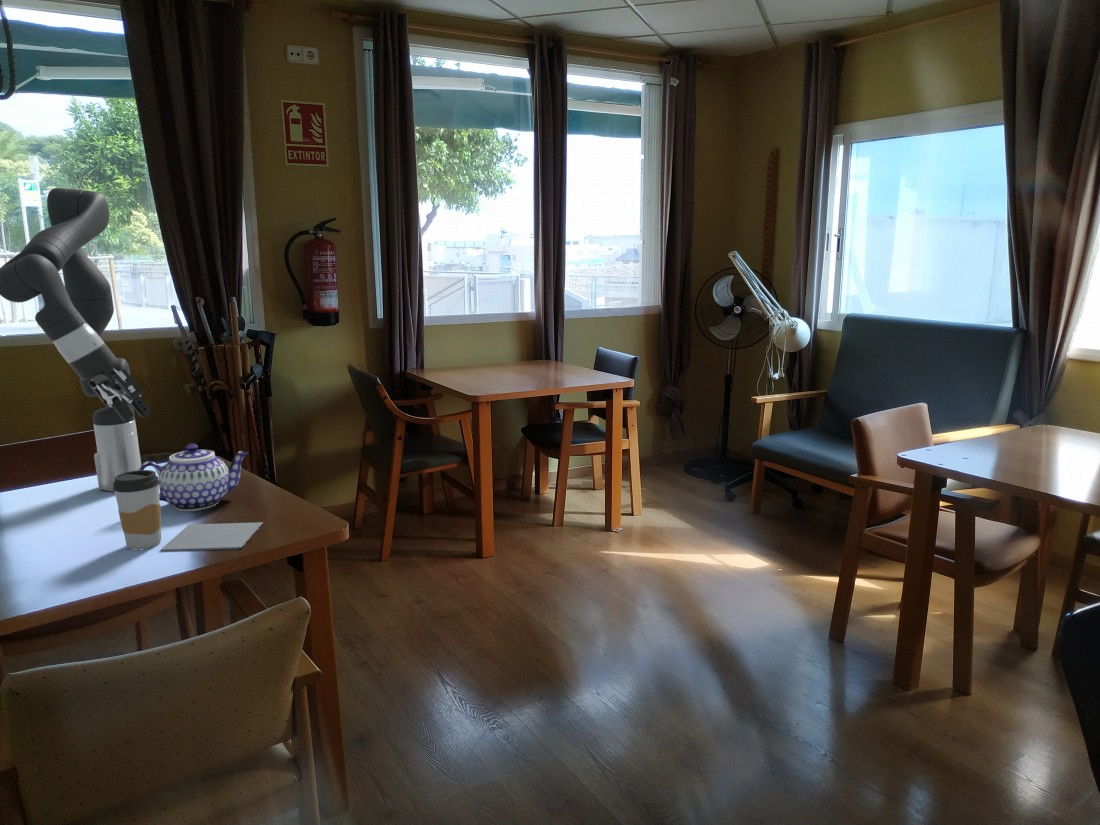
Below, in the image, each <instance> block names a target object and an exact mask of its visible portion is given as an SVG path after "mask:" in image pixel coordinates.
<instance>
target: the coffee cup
mask: <svg viewBox="0 0 1100 825" xmlns="http://www.w3.org/2000/svg"><path fill="white" fill-rule="evenodd" d="M159 483H160V482H159V475H157V472H156V470H155V471H154V470H150V469H144V470H137V471H130V472H126V473H122V474H119V475H117V476H116V477H115V482H114V483H113V490H114V491H113V492H114V494H115V499H116V503H117V507H118V515H119V520H120V524H121V528H122V532H123V535H124V540H125V544H126V547H128V549H129V548H130V549H129V550H131V549H138V550H137V551H141V550H140V549H144V550H147V549H146V548H149V549H151V547H152V548H155V547H157V546H159V545H160V544H161V541H162V518H161V517H162V516H161V502H160V500H159V493H160V488H159ZM154 546H155V547H154Z"/></svg>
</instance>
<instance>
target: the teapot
mask: <svg viewBox="0 0 1100 825" xmlns="http://www.w3.org/2000/svg"><path fill="white" fill-rule="evenodd" d="M198 448H199V446H198V445H197V444H195V443H188V444H187V445H185V450H182V451H179V452H176V453H173V454H171V455H169V457H168V458H169V460H168V461H167V462H166V463H165V464H164V465H163V466H161V465H159V464H157V463H156V462H154V461H150V460H148V461H145V462H143V464H141V467H140V468H139V469H138V470H146V468H147V467H153V468H154V469H155V473H156V475H157V476H158V478H159V479H158V480H159V482H160V483H159V501H162V502H166V503H168V504H169V505H171V506H173V507H174V509H175V510H176V511H181V512H195V511H196V512H197V511H201V510H202V509H203V510H206V508H207V509H210V507H211V508H213V507H215V506H217V505H218V504H219V502H220V501H221V500H222V499H223V498H224V497H225V496H226V495H227V494H228V493H229V492H232V491H233V490H234V489H236V488H237V486H238V485H239V483H240V479H241V471H242V462H243V459H244V458H245V457H246V456H247V455H249V452H248V451H245V450H240V451H238V452H237V453H236V454H235V455H234V458H233V459H232V462H231V464H229V465H226V463H225V462H224V460H222V459H220V458H218V457H217V456H216V454H215V451H214V450H210V449H198ZM216 504H217V505H216ZM212 506H213V507H212Z"/></svg>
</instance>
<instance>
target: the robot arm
mask: <svg viewBox="0 0 1100 825" xmlns="http://www.w3.org/2000/svg"><path fill="white" fill-rule="evenodd" d="M46 208H47V214H48V219H49V224H50V226H49V227H46V228H44V229H42V230H41V231H39V232H37V233H36V234H35V235H34V236H33V237H32V238H31V239H30V241H29V242H28V243H27V244H26V245H25V246H24V248H23V249H22V250H21V251H20V252H19V253H17V254H16V255H14V256H13V257H12V258H11V259H9V260H8V261H7V262H5V263H4V264H2V266H1V267H0V296H1V297H2V298H3V299H5V300H7V301H10V302H12V303H25V302H28V301H31V300H32V299H34V298H36V297H38V296H40V295H41V296H42V300H43V307H42V308H41V309H39V310H38V311H37V313H36V314H35V317H34V320H35V322H36V323H37V325H38V326H39V328H40V329H41V330H42V331H43V332H44V334H45V335H46V336H47V337H48V338H49V339H50V341H51V342H52V343H53V344H54V346H55V348H56V349H57V351H58V352H59V353H60V355H61V357H62V358H63V359H64V360H65V361H66V362H67V364H68V365H69V366H70V367H71V369H72V370H73V371H74V372H75V373H76V375H77V376H78V377H79V383H80V386H81V389H82V392H83V393H84V395H85V396H87V397H88V398H89V397H91V398H92V397H93V398H94V397H98V399H99V400H100V401H101V403H102V405H104V406H105V407H102V408H100V409H97V410H95V411H93V413H92V423H93V430H94V437H95V443H96V451H97V452H96V453H94V456H93V458H94V463H95V470H96V477H97V478H96V479H97V485H98V490H99V491H105V490H106V492H115V491H114V490H113V483H114V482H115V477H116V476H117V475H119V474H122V473H126V472H130V471H137V470H138V469H139V468H140V467H141V466H142V460H141V453H140V447H139V439H138V438H139V437H138V431H137V424H136V417H135V412H136V413H137V415H138V416H139V417H140V418H146V417H147V416H149V415H150V414H151V413H152V409H151V408H150V407H149V405H147V403H146V402H145V401H144V400H143V399H142V394H143V393H144V392H143V389H142V388H141V387H140V386H139V385H138V383H137V382H136V381H135V379H134V378H132V376H131V370H130V366H129V365H130V364H129V363H128V361H127V359H125V358H123V357H116V355H115V354H114V353H113V351H112V350H110V348H109V346H108V345H107V344H106V343H105V342H104V340H103V339H102V338H101V336H102V334H103V332H104V331H105V329H106V328H107V327H108V325H109V323H110V322H111V320H112V319H113V318H112V317H113V315H114V310H115V308H114V300H113V294H112V288H111V285H110V283H109V281H108V279H107V277H106V276H105V275H104V274H103V273H102V271H101V270H100V269H99V268H98V267H97V265H95V263H94V262H93V261H92V260H91V258H89V257H88V256H87V254H86V253H85V251H84V250H83V247H84V246H85V245H86V244H87V243H89V242H90V241H92V240H93V239H94V238H96V237H97V236H99V235H101V234H102V233H103V232H104V231H105V230H106V229H107V227H108V225H109V222H110V216H111V215H110V206H109V202H108V200H107V198H106V197H105V195H103V194H102V193H100V192H97V191H93V190H85V189H76V188H65V187H63V188H62V187H54V188H52V189H50V190H49V192H48V195H47V200H46ZM60 271H62V276H63V279H62V277H61V275H60V273H59V272H60ZM101 489H102V490H101Z"/></svg>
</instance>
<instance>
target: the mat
mask: <svg viewBox="0 0 1100 825" xmlns="http://www.w3.org/2000/svg"><path fill="white" fill-rule="evenodd" d="M262 524H263V525H264V522H263V521H261V522H236V523H235V522H233V523H232V522H231V523H198V524H188V525H187V526H186V527H184V528H183V529H182V530H181V531H180V532H178V533H177V535H175V536H174V537H173V538H172V539H171V540H170V541H168V542H167V543H166V544H165V545H164V546H163V547H161V549H160V552H182V551H210V550H211V551H212V550H213V551H214V550H239V548H242V547H243V546H245V545H247V543H248V542H249V541H250V540H251V539H250V538H252V537H253V536H254V535H255V534H256V533H257V532H258V531H259V530H260V528H261V527H262V526H263V525H262ZM261 525H262V526H261ZM260 526H261V527H260ZM259 527H260V528H259ZM257 530H258V531H257ZM256 531H257V532H256ZM255 532H256V533H255ZM254 533H255V534H254ZM253 534H254V535H253ZM252 535H253V536H252ZM251 536H252V537H251ZM249 539H250V540H249ZM248 540H249V541H248ZM247 541H248V542H247ZM246 542H247V543H246ZM243 548H244V547H243ZM243 548H242V549H243Z"/></svg>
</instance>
